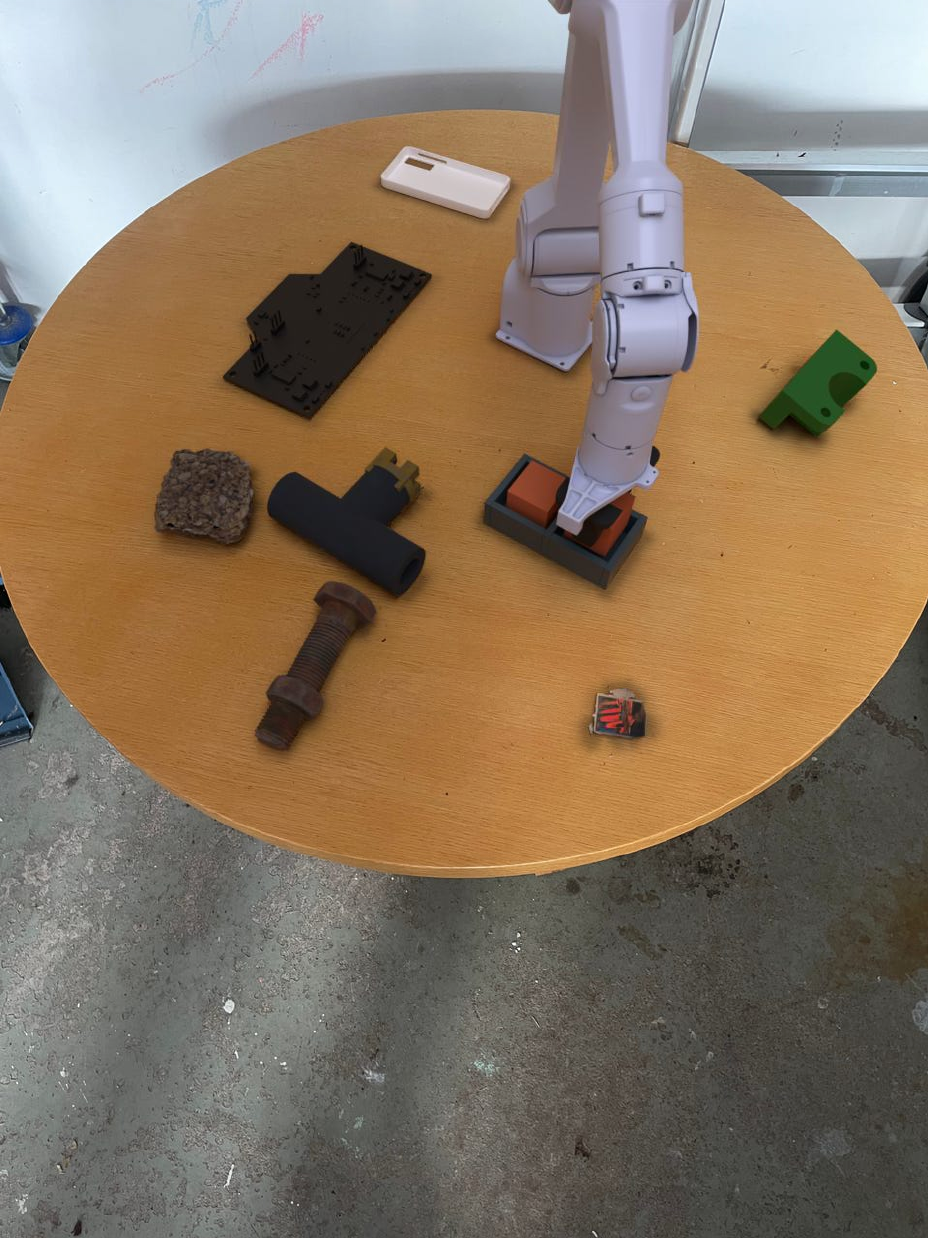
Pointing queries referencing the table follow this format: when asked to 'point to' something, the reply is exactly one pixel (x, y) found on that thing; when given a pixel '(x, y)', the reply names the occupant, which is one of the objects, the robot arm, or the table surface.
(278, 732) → the bolt
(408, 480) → the pipe connector
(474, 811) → the table surface
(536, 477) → the orange cube
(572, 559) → the grey rectangular tray
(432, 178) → the phone case
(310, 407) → the circuit board
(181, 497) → the concrete sample
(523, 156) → the table surface
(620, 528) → the red cube
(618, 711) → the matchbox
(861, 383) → the clamp
